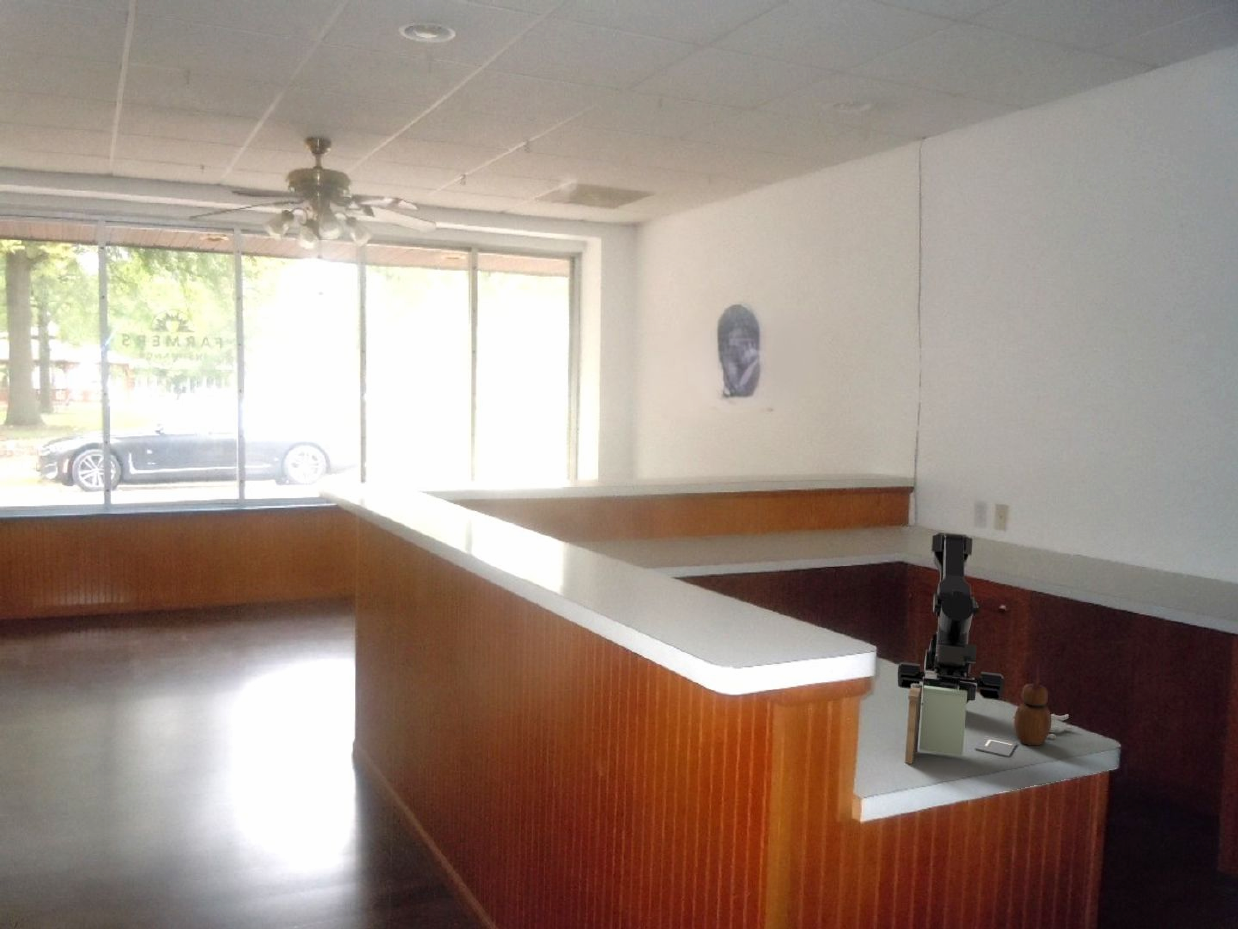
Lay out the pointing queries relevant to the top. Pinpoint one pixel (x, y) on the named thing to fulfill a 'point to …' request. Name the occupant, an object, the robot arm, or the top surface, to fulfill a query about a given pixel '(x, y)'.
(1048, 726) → the wooden figurine
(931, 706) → the pale green rectangular panel
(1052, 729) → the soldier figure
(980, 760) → the top surface
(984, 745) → the card
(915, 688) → the brown upright slab
